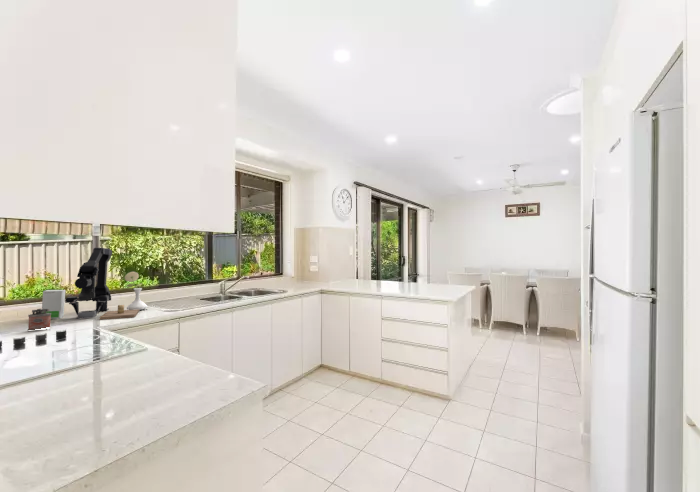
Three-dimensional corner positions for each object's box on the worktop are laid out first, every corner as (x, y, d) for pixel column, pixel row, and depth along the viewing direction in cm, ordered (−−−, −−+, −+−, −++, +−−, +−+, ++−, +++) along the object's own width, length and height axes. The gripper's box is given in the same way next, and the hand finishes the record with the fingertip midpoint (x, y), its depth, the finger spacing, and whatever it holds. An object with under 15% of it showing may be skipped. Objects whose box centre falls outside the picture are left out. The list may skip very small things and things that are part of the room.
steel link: (81, 316, 182) (81, 311, 182) (96, 315, 185) (96, 310, 185) (77, 318, 176) (77, 313, 176) (93, 317, 179) (93, 312, 179)
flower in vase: (147, 307, 213) (148, 270, 214) (147, 310, 204) (148, 271, 205) (123, 309, 206) (125, 271, 207) (122, 312, 197) (124, 272, 198)
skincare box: (40, 319, 172) (41, 291, 172) (45, 317, 178) (46, 289, 178) (60, 318, 176) (61, 290, 176) (64, 316, 182) (65, 289, 182)
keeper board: (107, 313, 191) (108, 303, 191) (139, 311, 198) (139, 302, 199) (99, 319, 173) (99, 308, 174) (134, 317, 181) (134, 306, 181)
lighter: (26, 331, 146) (26, 309, 146) (29, 330, 149) (30, 308, 149) (48, 330, 149) (49, 308, 149) (52, 328, 152) (52, 307, 152)
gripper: (62, 288, 170) (60, 317, 169) (105, 287, 178) (104, 315, 178) (69, 286, 180) (68, 314, 179) (109, 285, 188) (108, 312, 187)
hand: (87, 314), depth 180 cm, fingers open, 8 cm apart
